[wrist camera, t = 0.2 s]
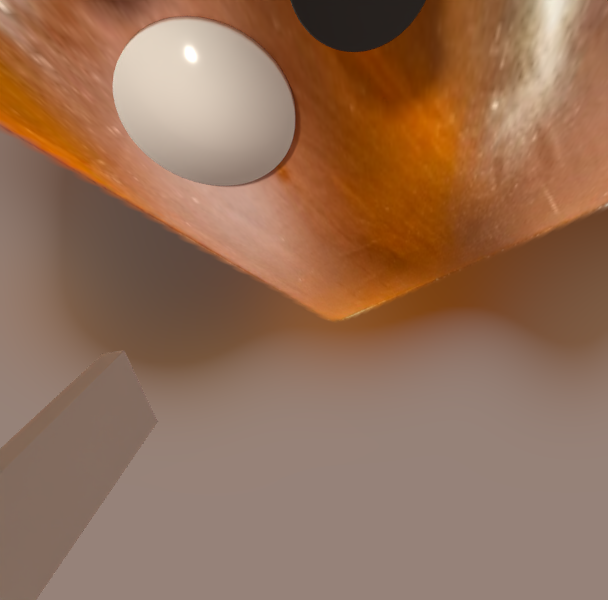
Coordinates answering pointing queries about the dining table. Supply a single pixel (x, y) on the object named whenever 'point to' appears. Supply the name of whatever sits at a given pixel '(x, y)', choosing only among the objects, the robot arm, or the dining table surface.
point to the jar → (356, 21)
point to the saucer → (204, 101)
